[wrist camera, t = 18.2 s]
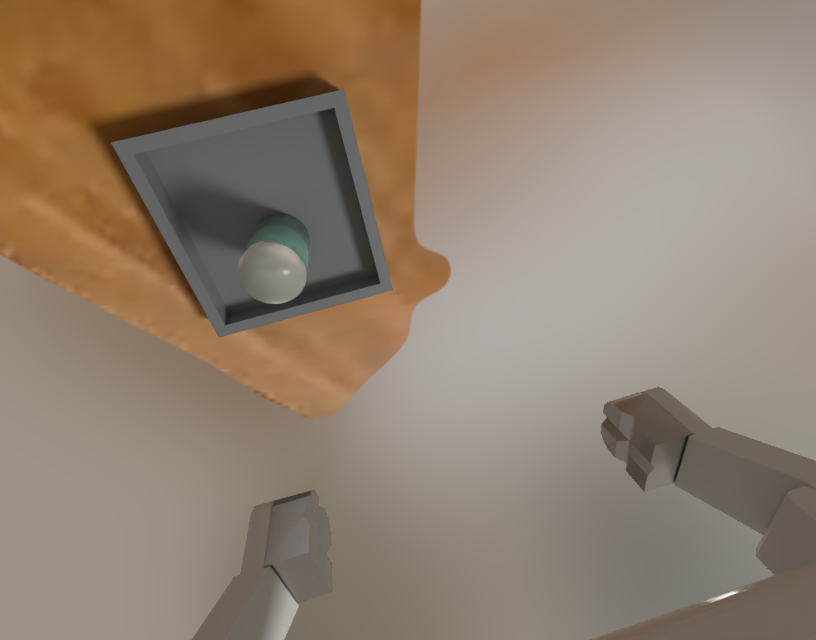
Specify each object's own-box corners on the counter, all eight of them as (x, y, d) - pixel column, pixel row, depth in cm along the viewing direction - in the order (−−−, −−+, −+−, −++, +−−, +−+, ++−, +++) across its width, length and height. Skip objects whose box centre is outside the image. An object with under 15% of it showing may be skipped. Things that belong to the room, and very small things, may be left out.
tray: (129, 139, 34) (110, 142, 31) (341, 91, 36) (343, 89, 33) (225, 322, 45) (219, 337, 42) (388, 278, 46) (393, 290, 43)
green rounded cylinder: (246, 220, 39) (225, 252, 30) (299, 207, 39) (293, 234, 31) (267, 269, 42) (253, 311, 33) (316, 256, 42) (315, 294, 34)
